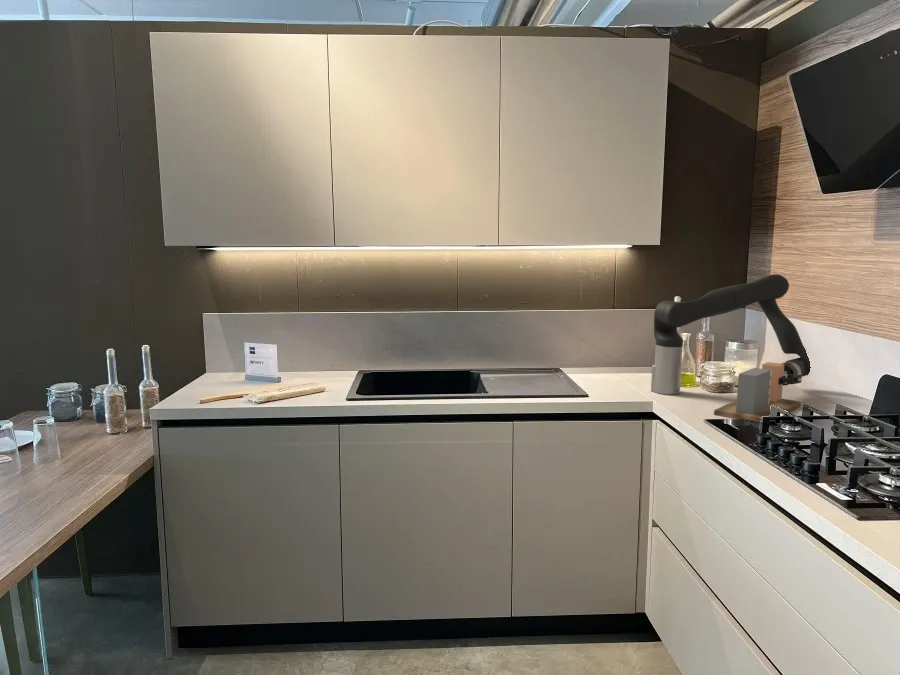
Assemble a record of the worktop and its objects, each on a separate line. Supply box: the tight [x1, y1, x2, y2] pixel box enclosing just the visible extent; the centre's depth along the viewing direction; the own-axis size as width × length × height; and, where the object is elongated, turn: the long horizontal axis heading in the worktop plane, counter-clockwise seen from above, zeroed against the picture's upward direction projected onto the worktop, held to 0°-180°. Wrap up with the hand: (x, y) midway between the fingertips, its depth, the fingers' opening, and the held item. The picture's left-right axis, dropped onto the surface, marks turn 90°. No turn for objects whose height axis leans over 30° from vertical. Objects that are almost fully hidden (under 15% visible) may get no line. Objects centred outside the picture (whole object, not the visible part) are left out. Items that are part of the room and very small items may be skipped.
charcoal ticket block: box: [736, 367, 772, 415], centre depth 194 cm, size 5×14×12 cm, turn 136°
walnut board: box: [713, 398, 802, 422], centre depth 200 cm, size 16×32×2 cm, turn 136°
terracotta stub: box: [761, 361, 784, 402], centre depth 207 cm, size 5×6×12 cm
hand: (770, 380), depth 206 cm, fingers closed on terracotta stub, 5 cm apart
